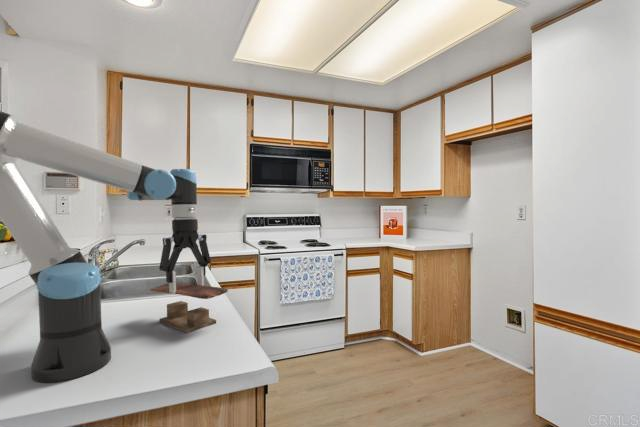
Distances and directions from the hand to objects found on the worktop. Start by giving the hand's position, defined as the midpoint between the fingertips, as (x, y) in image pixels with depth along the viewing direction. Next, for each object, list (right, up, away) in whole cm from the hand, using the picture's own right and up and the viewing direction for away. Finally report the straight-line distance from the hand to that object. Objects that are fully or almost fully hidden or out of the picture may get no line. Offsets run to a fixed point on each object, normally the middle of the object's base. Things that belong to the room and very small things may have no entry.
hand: (187, 289), depth 107 cm
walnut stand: (0, -11, 0) cm, 11 cm away
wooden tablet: (0, -1, 0) cm, 1 cm away
